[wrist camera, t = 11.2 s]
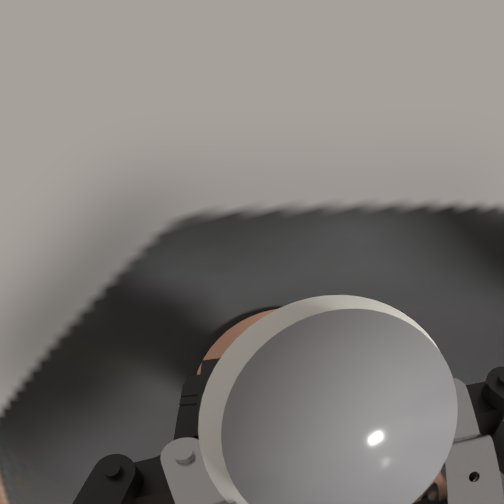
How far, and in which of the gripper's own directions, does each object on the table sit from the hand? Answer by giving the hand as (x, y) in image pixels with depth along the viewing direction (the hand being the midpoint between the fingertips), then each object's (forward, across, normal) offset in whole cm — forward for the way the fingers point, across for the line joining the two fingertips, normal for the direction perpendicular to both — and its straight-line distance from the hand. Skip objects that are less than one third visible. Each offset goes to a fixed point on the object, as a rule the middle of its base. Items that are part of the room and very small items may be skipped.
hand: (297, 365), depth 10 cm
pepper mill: (+3, 0, +5) cm, 6 cm away
